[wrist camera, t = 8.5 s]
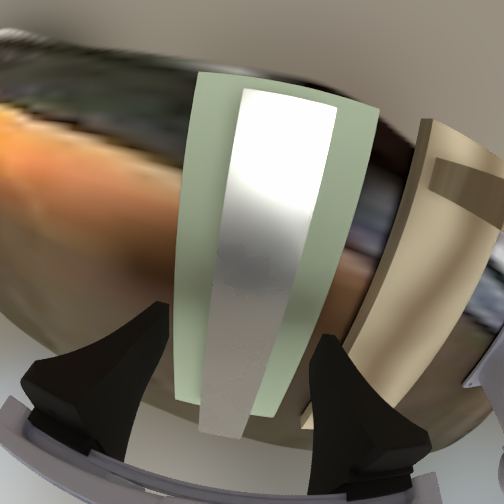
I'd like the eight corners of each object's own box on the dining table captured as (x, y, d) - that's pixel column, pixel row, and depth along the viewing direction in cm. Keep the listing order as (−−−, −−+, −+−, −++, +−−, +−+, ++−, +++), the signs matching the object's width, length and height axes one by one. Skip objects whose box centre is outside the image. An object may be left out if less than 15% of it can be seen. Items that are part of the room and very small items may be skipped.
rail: (251, 98, 10) (243, 88, 8) (321, 113, 10) (336, 107, 8) (205, 400, 19) (198, 431, 16) (244, 407, 19) (240, 439, 16)
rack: (504, 166, 10) (580, 198, 4) (371, 418, 20) (383, 477, 14) (421, 118, 10) (514, 125, 4) (300, 417, 20) (302, 483, 14)
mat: (375, 110, 10) (380, 109, 10) (273, 411, 20) (273, 417, 19) (202, 74, 10) (198, 71, 10) (177, 393, 20) (175, 399, 19)
